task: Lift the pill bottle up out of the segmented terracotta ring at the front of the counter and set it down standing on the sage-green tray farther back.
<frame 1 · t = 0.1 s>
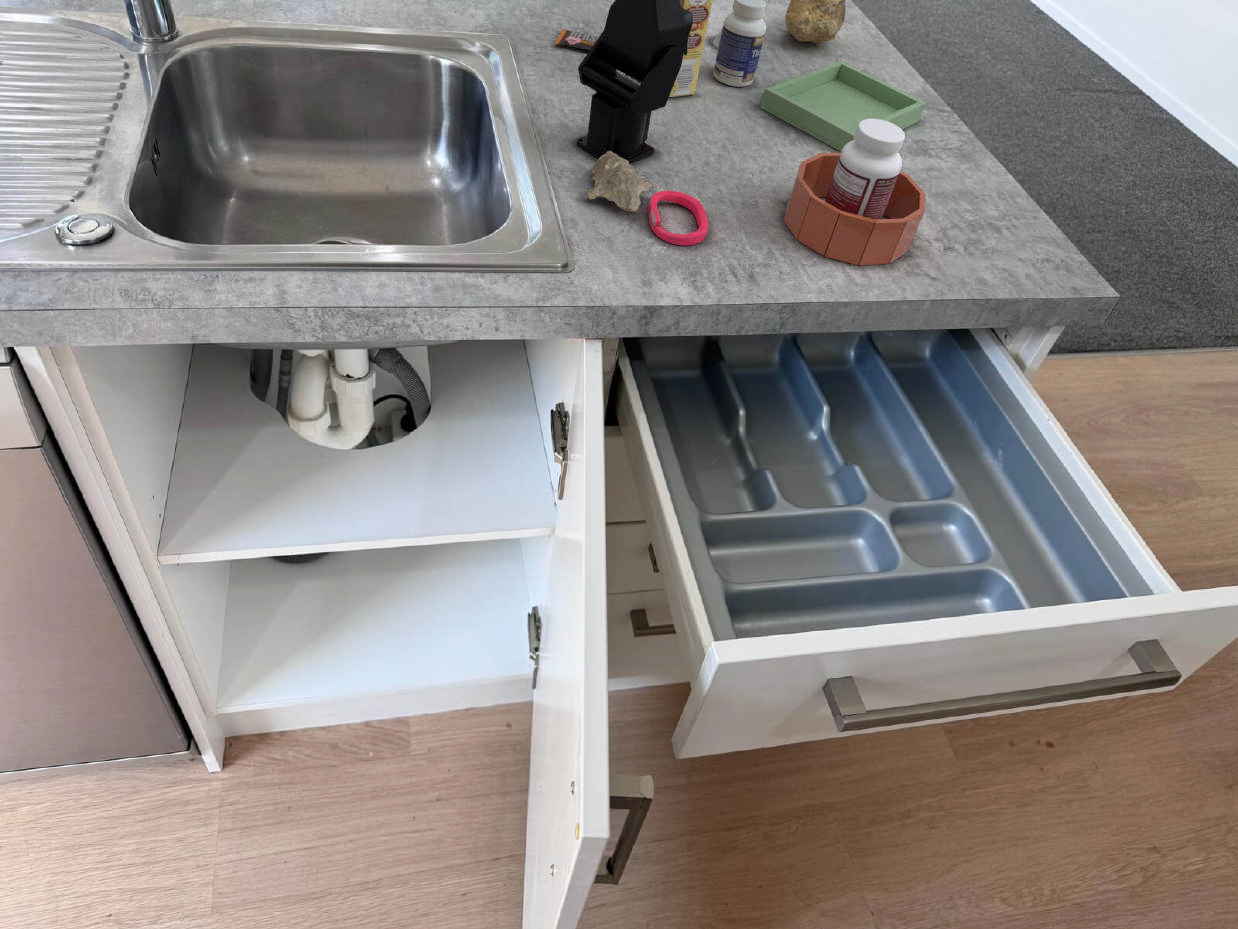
chalice: (730, 46, 123), on the table
pill bottle: (732, 80, 115), on the table
pill bottle 2: (845, 229, 94), resting in segmented terracotta ring
segmented terracotta ring: (846, 228, 94), on the table
artifact: (631, 210, 87), point 2 cm above the table
tray: (840, 114, 112), on the table
fitness band: (680, 209, 89), point 2 cm above the table
candy box: (664, 82, 112), on the table
tan rock: (807, 40, 128), on the table
chocolate bar: (598, 49, 116), on the table
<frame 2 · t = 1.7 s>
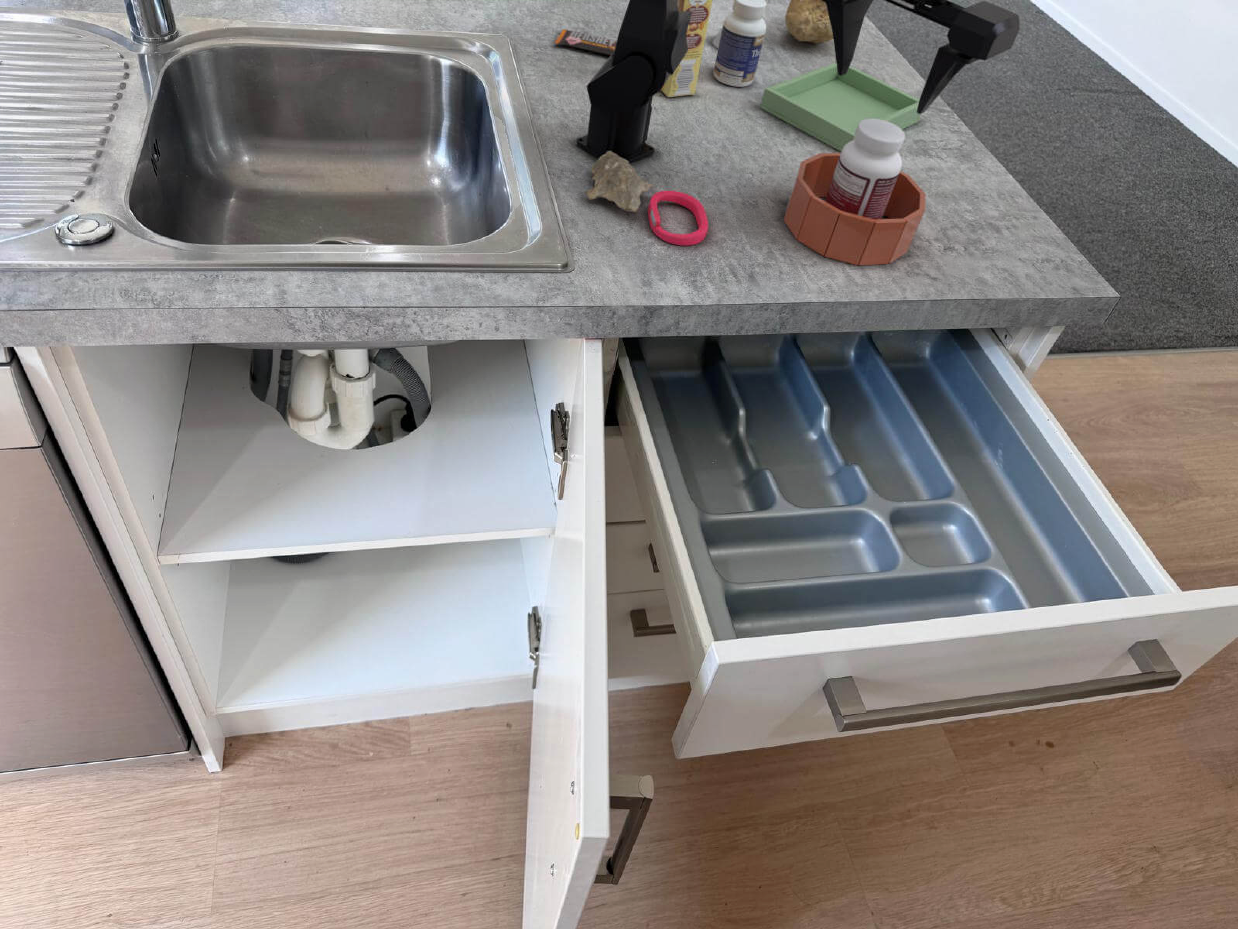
hand: (880, 93, 86), 13 cm above the table, tool pointing down, fingers open, 9 cm apart
nothing on the table moved.
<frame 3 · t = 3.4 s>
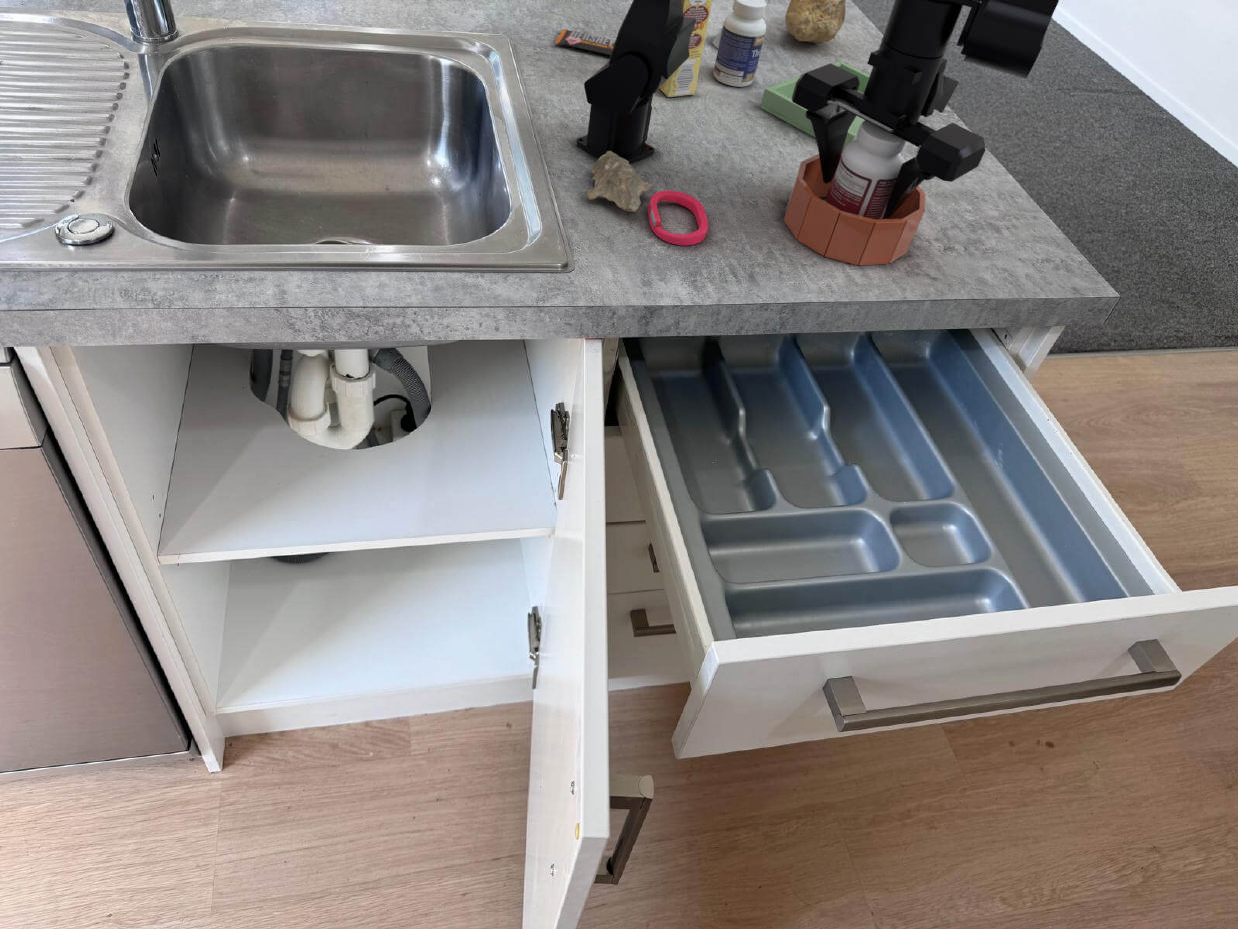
hand: (857, 198, 91), 3 cm above the table, tool pointing down, fingers closed on pill bottle 2, 7 cm apart
pill bottle 2: (845, 229, 94), resting in segmented terracotta ring, touching gripper
everything else where it was.
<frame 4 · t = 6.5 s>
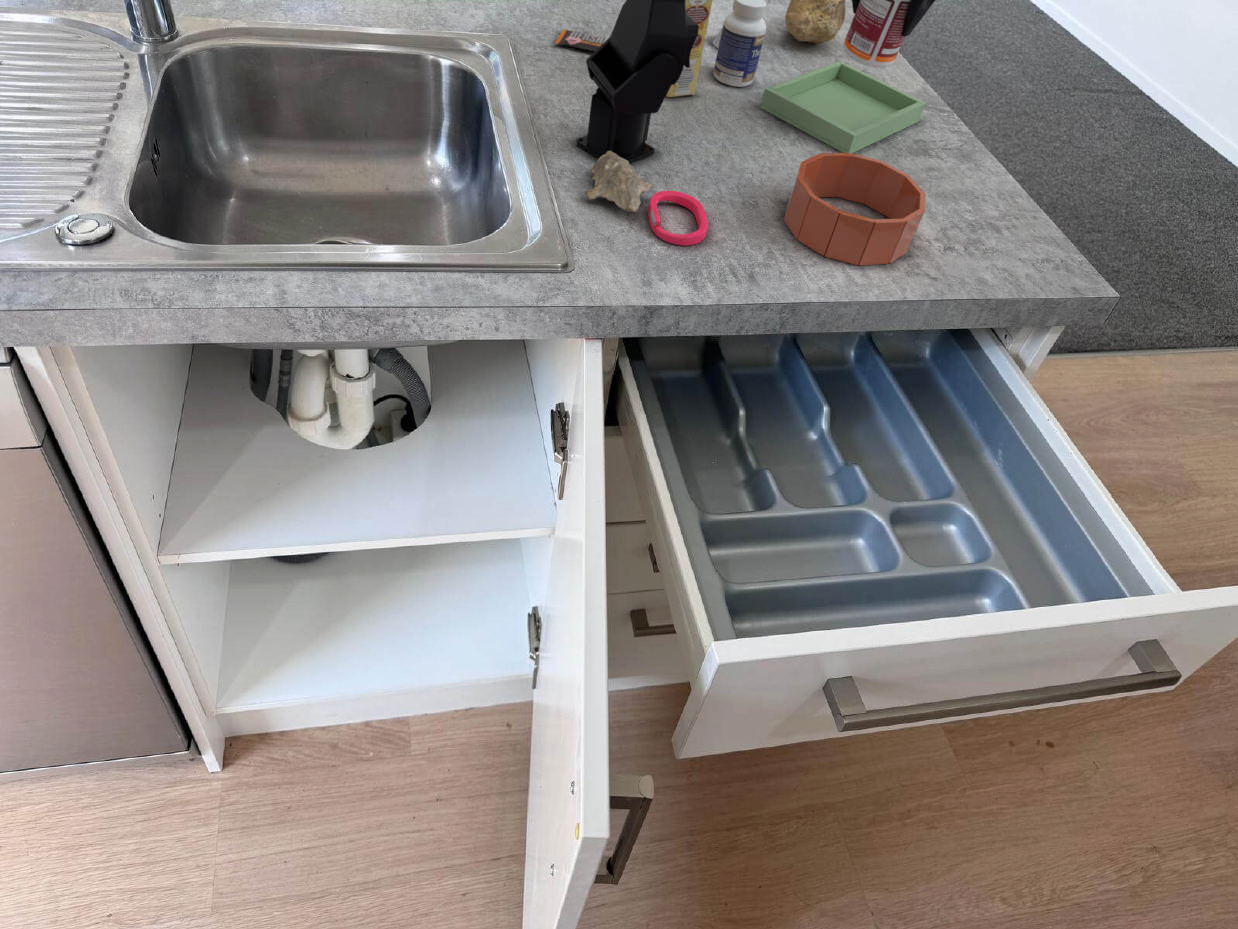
hand: (880, 24, 99), 13 cm above the table, tool pointing down, fingers closed on pill bottle 2, 6 cm apart
pill bottle 2: (866, 57, 102), point 9 cm above the table, touching gripper
everything else where it was.
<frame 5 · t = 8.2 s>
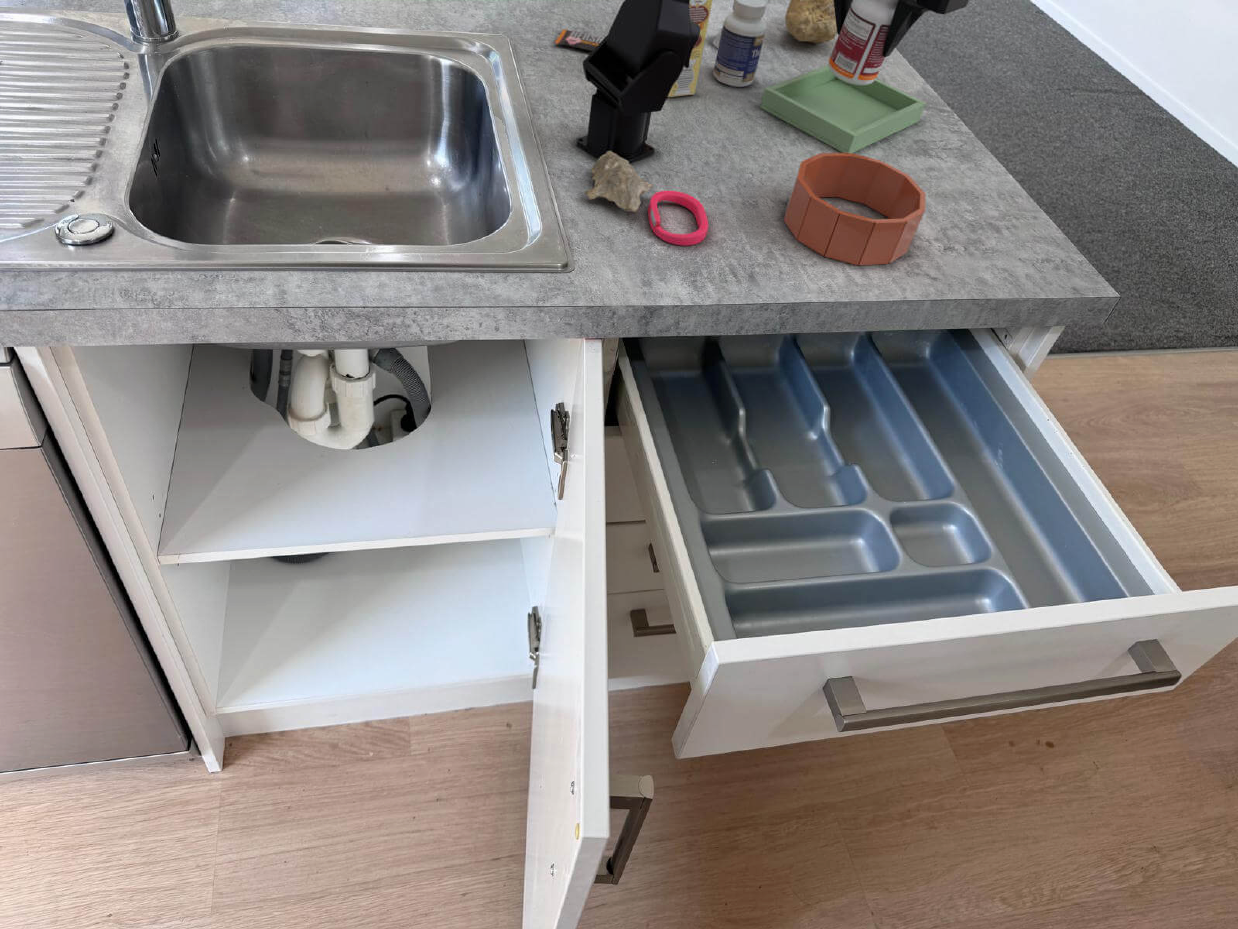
hand: (863, 45, 106), 9 cm above the table, tool pointing down, fingers closed on pill bottle 2, 6 cm apart
pill bottle 2: (849, 75, 109), point 5 cm above the table, touching gripper
everything else where it was.
when the fingers open (4 cm above the table, at t = 9.9 s): pill bottle 2 stays where it is, resting on tray.
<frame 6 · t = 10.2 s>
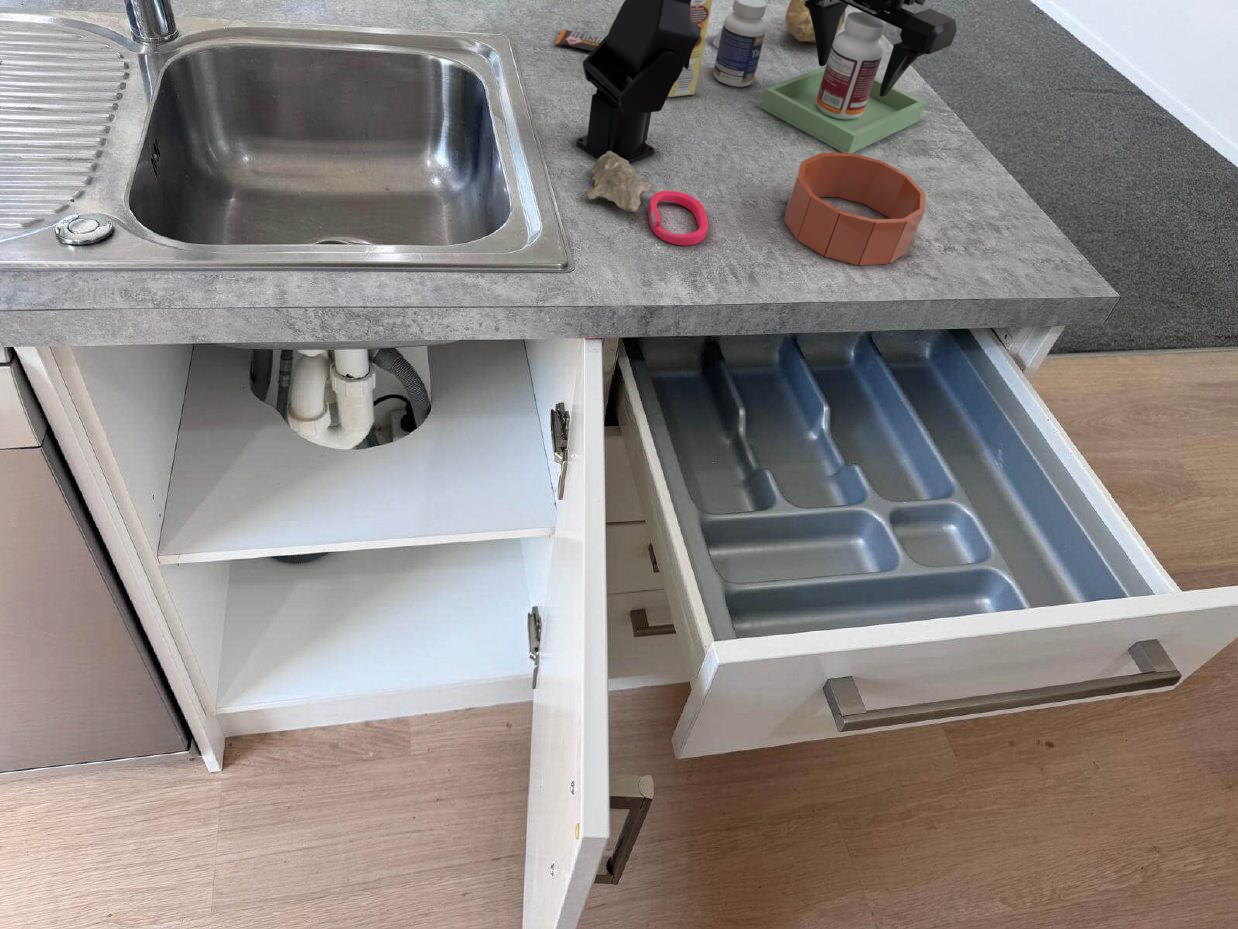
hand: (851, 80, 109), 4 cm above the table, tool pointing down, fingers open, 9 cm apart
pill bottle 2: (837, 111, 112), resting on tray
everything else where it was.
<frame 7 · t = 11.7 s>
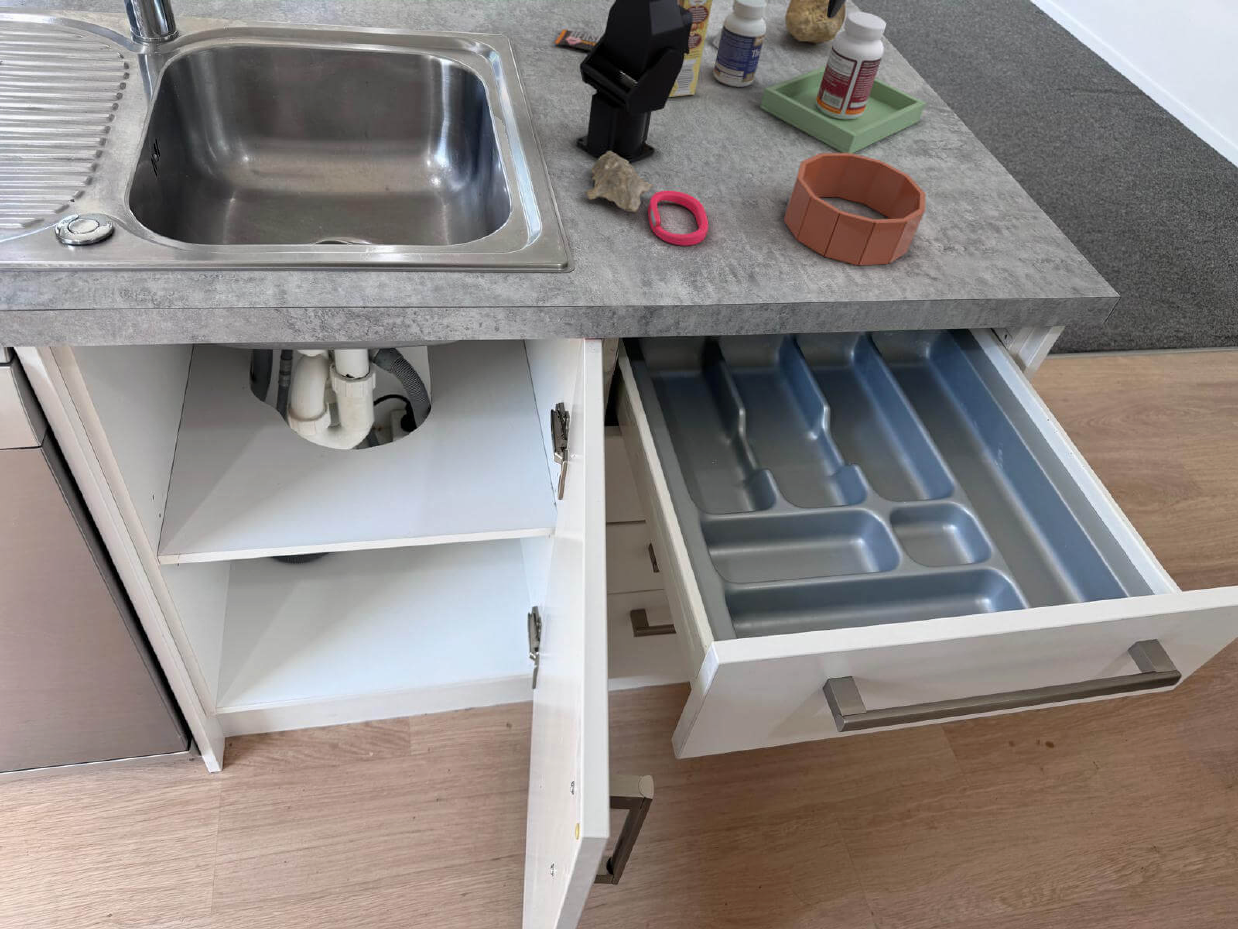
hand: (798, 1, 102), 13 cm above the table, tool pointing down, fingers open, 9 cm apart
nothing on the table moved.
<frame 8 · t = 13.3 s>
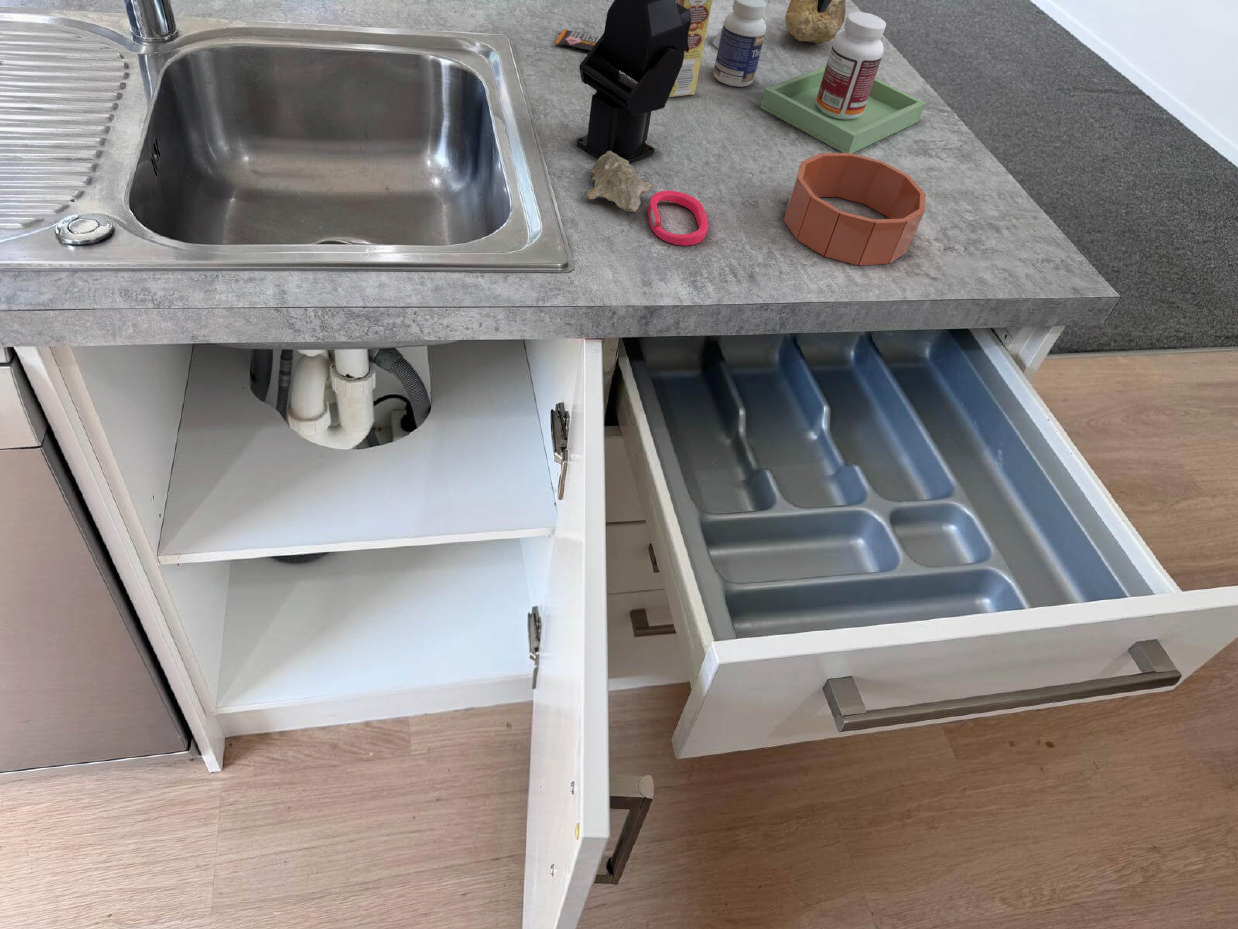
nothing on the table moved.
at the end: pill bottle 2 inside the target area in the tray (0.4 cm from its centre), point 0.3 cm above the tray's base; pill bottle 2 tilted 0° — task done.
